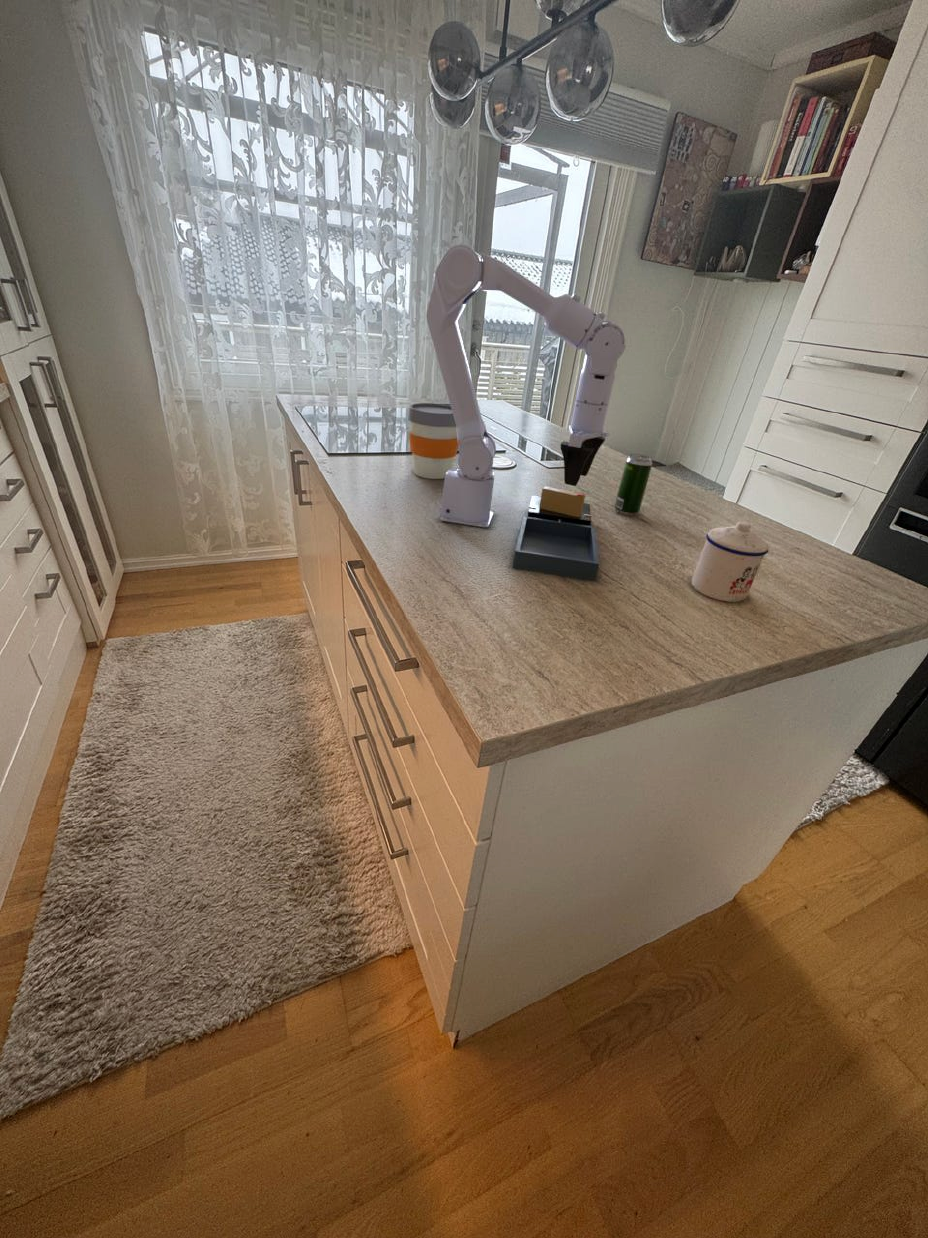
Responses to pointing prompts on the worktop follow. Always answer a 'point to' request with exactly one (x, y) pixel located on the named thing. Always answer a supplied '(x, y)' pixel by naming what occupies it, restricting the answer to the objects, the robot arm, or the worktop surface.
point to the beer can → (633, 484)
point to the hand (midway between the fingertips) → (575, 479)
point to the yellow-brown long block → (562, 501)
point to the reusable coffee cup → (432, 439)
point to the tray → (557, 548)
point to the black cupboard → (555, 516)
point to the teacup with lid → (729, 562)
